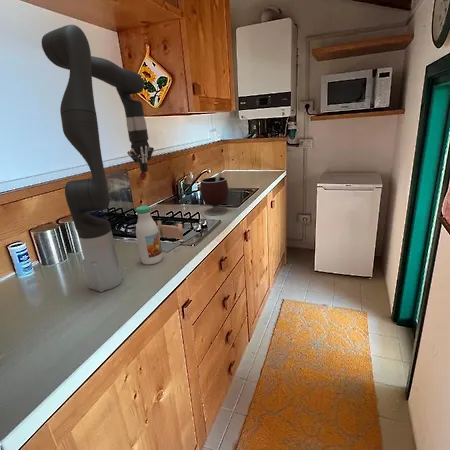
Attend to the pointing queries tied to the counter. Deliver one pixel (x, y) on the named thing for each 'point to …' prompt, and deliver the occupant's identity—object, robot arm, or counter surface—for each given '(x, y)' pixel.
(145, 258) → the milk bottle
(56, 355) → the counter surface
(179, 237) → the fence gate
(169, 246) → the card
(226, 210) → the mate gourd
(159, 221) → the fence fixed
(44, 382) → the counter surface
